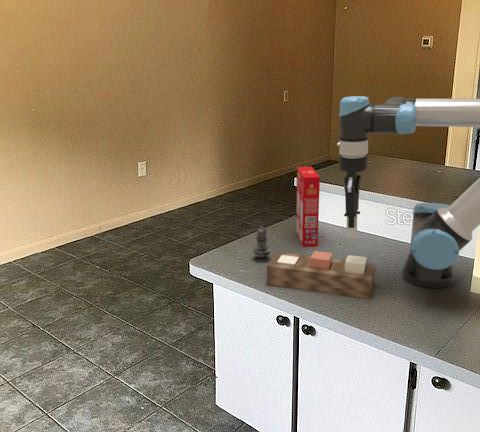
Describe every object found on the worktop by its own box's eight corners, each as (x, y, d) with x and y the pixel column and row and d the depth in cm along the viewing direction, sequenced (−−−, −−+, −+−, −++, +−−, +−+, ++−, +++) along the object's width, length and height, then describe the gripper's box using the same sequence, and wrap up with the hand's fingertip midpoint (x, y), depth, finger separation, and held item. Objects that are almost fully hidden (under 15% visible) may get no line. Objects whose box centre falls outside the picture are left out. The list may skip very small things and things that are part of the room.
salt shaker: (261, 254, 181) (261, 220, 177) (274, 259, 177) (274, 224, 173) (249, 259, 177) (248, 225, 173) (262, 264, 173) (262, 229, 169)
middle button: (331, 266, 160) (332, 253, 158) (328, 273, 155) (328, 260, 153) (313, 263, 161) (314, 251, 160) (310, 271, 156) (310, 257, 155)
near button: (365, 270, 156) (366, 257, 155) (363, 278, 152) (364, 264, 150) (347, 268, 158) (348, 255, 157) (344, 275, 153) (345, 262, 152)
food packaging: (317, 246, 187) (319, 177, 179) (302, 247, 187) (304, 177, 178) (309, 231, 201) (311, 166, 193) (295, 232, 201) (297, 167, 192)
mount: (373, 282, 160) (375, 263, 158) (369, 298, 150) (371, 279, 148) (276, 269, 169) (277, 252, 167) (266, 284, 159) (266, 265, 158)
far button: (298, 269, 164) (299, 257, 162) (294, 277, 159) (294, 264, 157) (281, 267, 165) (281, 254, 164) (276, 274, 161) (277, 261, 159)
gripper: (343, 150, 151) (342, 228, 159) (335, 160, 140) (334, 244, 147) (370, 150, 149) (368, 230, 156) (364, 161, 137) (362, 246, 145)
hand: (351, 237), depth 152 cm, fingers closed
